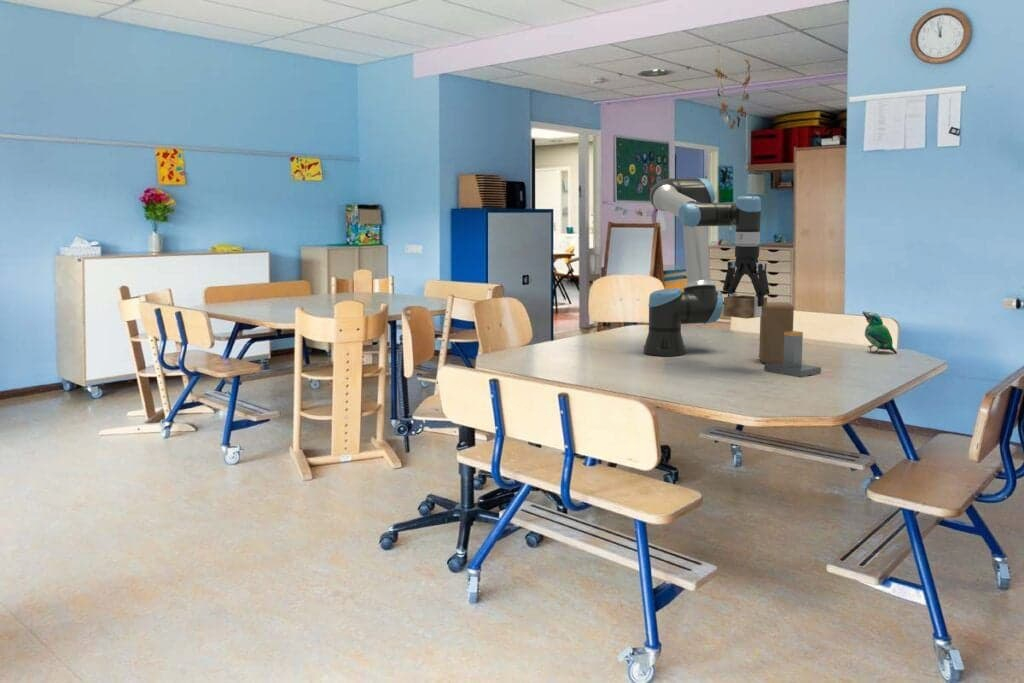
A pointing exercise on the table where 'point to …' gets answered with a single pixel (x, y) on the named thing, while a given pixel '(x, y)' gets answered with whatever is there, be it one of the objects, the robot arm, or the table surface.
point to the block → (775, 331)
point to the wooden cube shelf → (742, 306)
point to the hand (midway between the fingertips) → (744, 314)
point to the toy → (877, 332)
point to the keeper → (792, 358)
